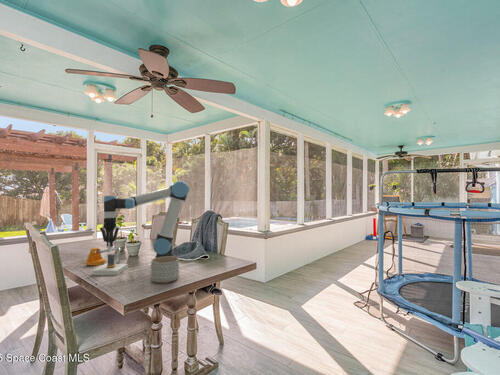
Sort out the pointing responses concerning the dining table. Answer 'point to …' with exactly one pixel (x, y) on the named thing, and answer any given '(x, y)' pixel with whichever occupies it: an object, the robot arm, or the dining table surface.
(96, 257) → the bracket
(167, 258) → the planter
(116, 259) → the handle
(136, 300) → the dining table surface
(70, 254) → the dining table surface
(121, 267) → the socket block
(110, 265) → the plug
